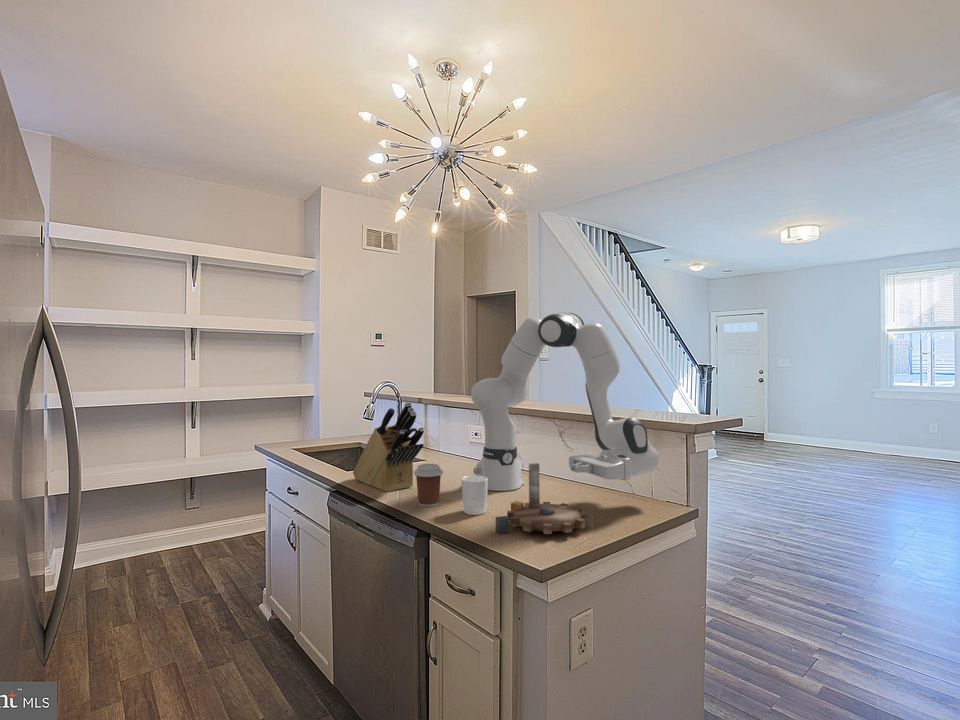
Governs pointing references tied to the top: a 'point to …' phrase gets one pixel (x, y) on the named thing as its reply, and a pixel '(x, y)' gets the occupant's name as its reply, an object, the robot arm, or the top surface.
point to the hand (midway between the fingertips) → (573, 468)
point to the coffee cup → (428, 484)
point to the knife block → (391, 453)
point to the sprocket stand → (502, 525)
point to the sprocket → (544, 511)
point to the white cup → (474, 494)
